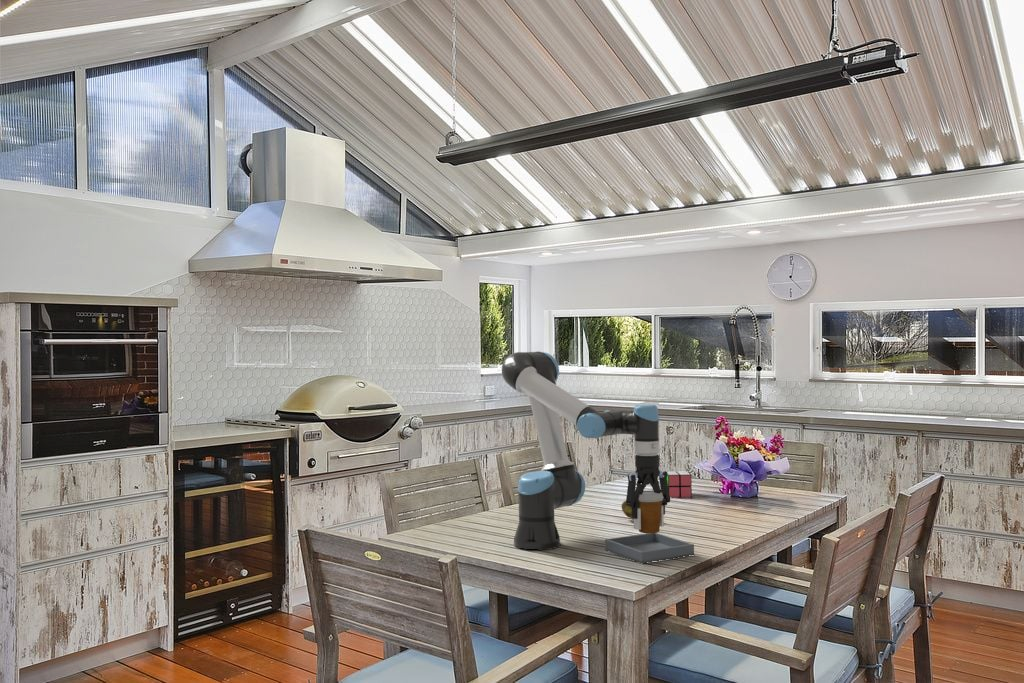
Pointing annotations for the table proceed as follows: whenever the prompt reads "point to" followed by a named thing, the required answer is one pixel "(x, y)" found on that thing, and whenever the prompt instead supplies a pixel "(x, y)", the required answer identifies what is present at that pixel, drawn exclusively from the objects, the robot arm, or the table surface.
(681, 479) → the puzzle cube
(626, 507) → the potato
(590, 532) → the table surface
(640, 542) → the tray
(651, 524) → the disposable coffee cup
